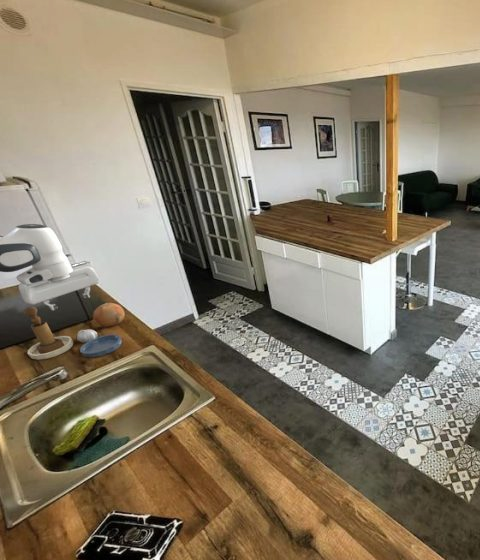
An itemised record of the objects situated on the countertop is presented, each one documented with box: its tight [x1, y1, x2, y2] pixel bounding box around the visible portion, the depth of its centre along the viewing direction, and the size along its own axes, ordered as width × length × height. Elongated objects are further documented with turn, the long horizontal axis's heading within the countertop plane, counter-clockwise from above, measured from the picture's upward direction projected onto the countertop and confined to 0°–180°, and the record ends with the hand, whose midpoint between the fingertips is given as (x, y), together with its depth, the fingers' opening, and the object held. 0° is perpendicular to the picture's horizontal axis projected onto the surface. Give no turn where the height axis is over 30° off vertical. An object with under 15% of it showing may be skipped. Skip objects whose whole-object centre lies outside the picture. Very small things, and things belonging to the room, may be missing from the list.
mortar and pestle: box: [23, 306, 64, 354], centre depth 112 cm, size 7×6×18 cm
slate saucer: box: [79, 333, 123, 359], centre depth 117 cm, size 12×12×2 cm
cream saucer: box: [26, 335, 74, 361], centre depth 115 cm, size 12×12×2 cm
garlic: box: [76, 328, 99, 344], centre depth 120 cm, size 6×5×5 cm
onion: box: [92, 302, 125, 328], centre depth 129 cm, size 10×10×10 cm
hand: (71, 303), depth 114 cm, fingers open, 8 cm apart
